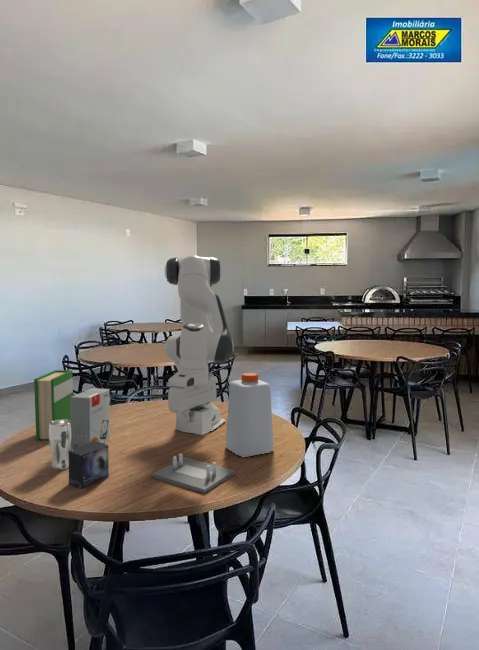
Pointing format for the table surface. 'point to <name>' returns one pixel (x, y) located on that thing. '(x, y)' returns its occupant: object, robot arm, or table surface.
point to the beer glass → (60, 443)
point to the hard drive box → (90, 417)
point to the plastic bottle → (249, 417)
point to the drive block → (196, 421)
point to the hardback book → (52, 400)
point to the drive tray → (193, 474)
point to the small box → (88, 464)
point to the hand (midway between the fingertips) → (193, 420)
